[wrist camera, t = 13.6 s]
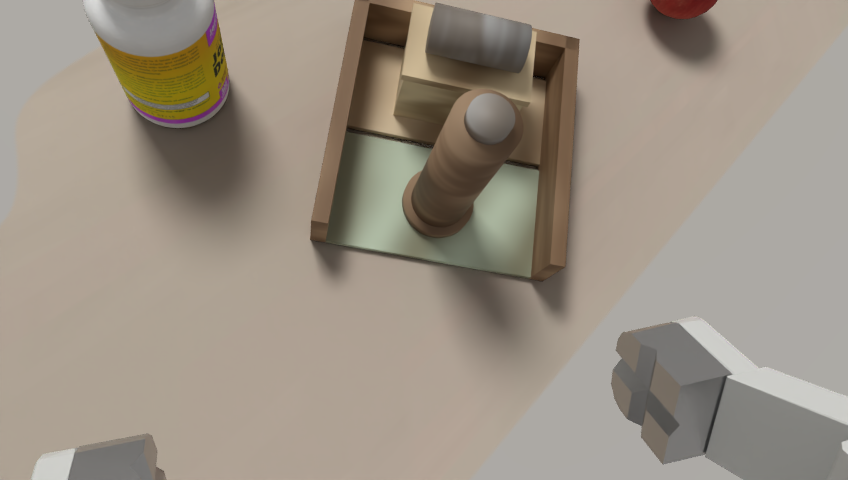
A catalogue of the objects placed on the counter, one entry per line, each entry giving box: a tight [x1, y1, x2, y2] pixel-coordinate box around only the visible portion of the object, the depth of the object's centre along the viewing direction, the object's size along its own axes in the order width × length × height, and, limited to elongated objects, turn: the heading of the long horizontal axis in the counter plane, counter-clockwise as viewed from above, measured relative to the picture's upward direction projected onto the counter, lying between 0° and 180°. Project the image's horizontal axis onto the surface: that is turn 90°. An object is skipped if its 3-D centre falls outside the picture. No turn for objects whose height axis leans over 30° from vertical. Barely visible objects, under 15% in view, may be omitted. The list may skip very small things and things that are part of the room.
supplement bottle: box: [83, 0, 229, 128], centre depth 37 cm, size 7×7×13 cm
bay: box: [310, 0, 579, 281], centre depth 44 cm, size 16×17×4 cm
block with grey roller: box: [393, 3, 537, 125], centre depth 42 cm, size 8×5×9 cm, turn 82°
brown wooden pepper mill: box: [402, 89, 524, 238], centre depth 37 cm, size 5×5×13 cm
